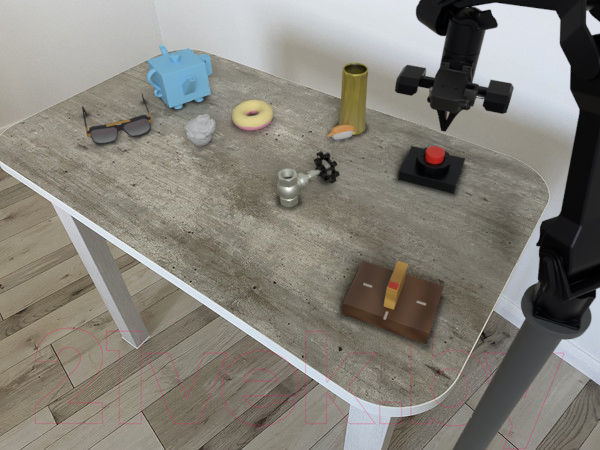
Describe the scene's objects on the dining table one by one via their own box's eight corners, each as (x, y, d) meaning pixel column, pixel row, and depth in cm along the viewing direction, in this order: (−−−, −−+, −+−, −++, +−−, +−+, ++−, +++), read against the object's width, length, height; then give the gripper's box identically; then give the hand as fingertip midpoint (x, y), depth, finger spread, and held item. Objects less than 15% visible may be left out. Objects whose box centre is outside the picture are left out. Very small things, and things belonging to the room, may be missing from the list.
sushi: (356, 137, 106) (357, 126, 104) (329, 143, 104) (329, 131, 102) (352, 131, 108) (352, 119, 105) (325, 136, 106) (325, 125, 104)
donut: (277, 121, 115) (242, 109, 116) (280, 103, 112) (244, 91, 113) (261, 139, 107) (223, 126, 108) (264, 120, 104) (225, 107, 106)
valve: (290, 215, 89) (339, 187, 94) (289, 188, 84) (340, 160, 90) (269, 196, 93) (317, 171, 98) (267, 170, 88) (317, 144, 93)
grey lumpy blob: (216, 152, 103) (211, 125, 98) (184, 151, 104) (177, 124, 99) (221, 136, 107) (217, 108, 102) (191, 135, 108) (185, 107, 103)
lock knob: (394, 279, 74) (397, 259, 71) (404, 282, 74) (408, 262, 71) (383, 306, 71) (386, 286, 68) (393, 310, 71) (397, 290, 67)
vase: (338, 119, 111) (341, 61, 101) (365, 120, 110) (370, 61, 100) (337, 134, 107) (339, 75, 96) (365, 135, 106) (370, 76, 96)
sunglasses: (144, 101, 118) (139, 83, 115) (156, 134, 108) (150, 115, 105) (85, 114, 115) (78, 96, 111) (92, 150, 105) (84, 130, 101)
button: (445, 155, 95) (447, 148, 94) (441, 166, 92) (442, 159, 91) (427, 151, 96) (428, 144, 95) (422, 161, 94) (424, 154, 92)
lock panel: (440, 295, 76) (444, 283, 74) (425, 346, 70) (429, 334, 67) (362, 270, 80) (363, 258, 77) (341, 316, 74) (342, 304, 71)
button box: (463, 166, 98) (467, 150, 95) (453, 194, 92) (458, 178, 89) (409, 154, 101) (412, 138, 98) (397, 179, 96) (400, 163, 93)
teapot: (168, 123, 111) (156, 79, 103) (140, 90, 122) (128, 47, 114) (229, 102, 117) (222, 58, 109) (198, 72, 128) (190, 30, 120)
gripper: (390, 59, 74) (381, 143, 86) (517, 82, 69) (489, 168, 80) (409, 31, 82) (398, 111, 93) (526, 49, 76) (499, 132, 87)
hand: (443, 130), depth 88 cm, fingers closed
